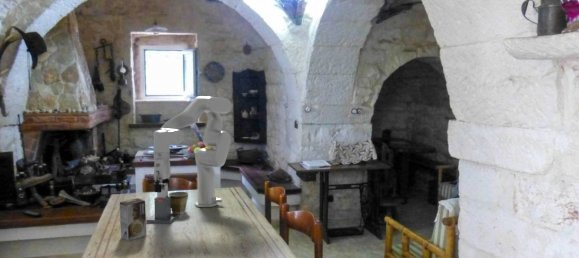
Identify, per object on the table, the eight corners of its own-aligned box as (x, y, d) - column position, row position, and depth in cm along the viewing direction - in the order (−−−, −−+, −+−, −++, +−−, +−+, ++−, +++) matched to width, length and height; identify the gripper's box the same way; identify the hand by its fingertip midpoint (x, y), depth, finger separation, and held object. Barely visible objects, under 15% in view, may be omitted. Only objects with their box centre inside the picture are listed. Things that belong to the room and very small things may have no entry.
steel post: (168, 214, 228) (167, 183, 227) (165, 217, 224) (164, 185, 223) (160, 214, 229) (160, 183, 227) (157, 216, 225) (156, 184, 223)
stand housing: (179, 216, 232) (178, 194, 231) (170, 223, 220) (169, 200, 219) (156, 215, 233) (155, 193, 232) (146, 222, 222) (145, 199, 220)
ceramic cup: (192, 212, 240) (192, 193, 239) (175, 216, 232) (175, 197, 231) (178, 207, 248) (178, 189, 247) (162, 211, 241) (161, 192, 240)
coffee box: (138, 232, 207) (137, 197, 205) (146, 235, 203) (146, 200, 201) (120, 237, 200) (119, 201, 198) (128, 241, 196) (127, 204, 194)
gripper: (162, 158, 214) (162, 194, 216) (175, 153, 232) (175, 186, 233) (146, 158, 215) (147, 193, 217) (161, 152, 232) (161, 186, 234)
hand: (162, 190), depth 225 cm, fingers open, 9 cm apart
